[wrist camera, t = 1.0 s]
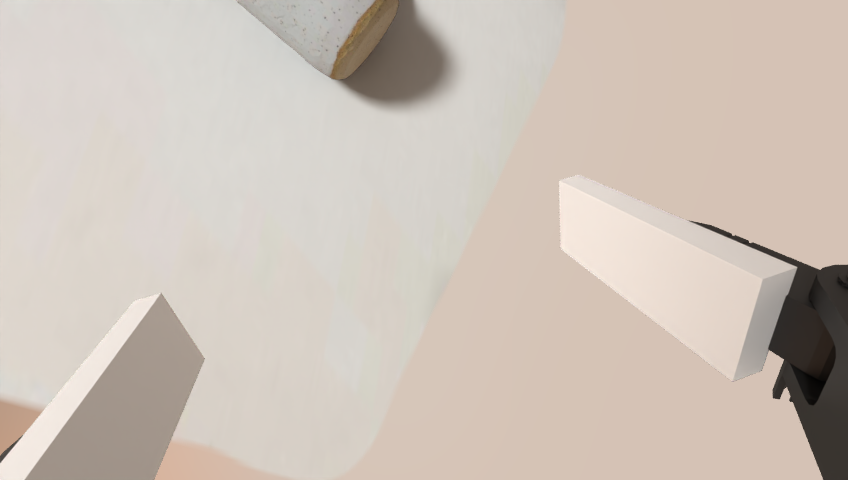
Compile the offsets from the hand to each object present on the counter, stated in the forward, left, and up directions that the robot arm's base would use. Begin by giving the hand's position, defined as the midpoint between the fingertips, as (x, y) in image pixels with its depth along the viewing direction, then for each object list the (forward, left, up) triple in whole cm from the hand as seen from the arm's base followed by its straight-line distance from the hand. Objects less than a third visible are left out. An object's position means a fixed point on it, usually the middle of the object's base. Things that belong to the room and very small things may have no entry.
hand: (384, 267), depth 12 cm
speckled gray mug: (-11, +14, -16) cm, 24 cm away
